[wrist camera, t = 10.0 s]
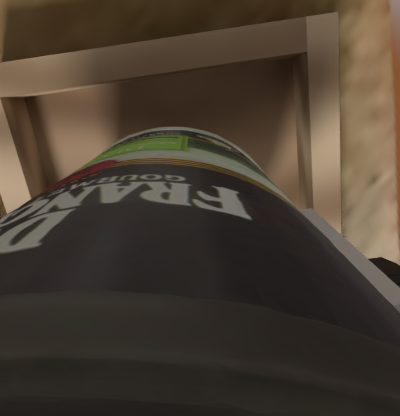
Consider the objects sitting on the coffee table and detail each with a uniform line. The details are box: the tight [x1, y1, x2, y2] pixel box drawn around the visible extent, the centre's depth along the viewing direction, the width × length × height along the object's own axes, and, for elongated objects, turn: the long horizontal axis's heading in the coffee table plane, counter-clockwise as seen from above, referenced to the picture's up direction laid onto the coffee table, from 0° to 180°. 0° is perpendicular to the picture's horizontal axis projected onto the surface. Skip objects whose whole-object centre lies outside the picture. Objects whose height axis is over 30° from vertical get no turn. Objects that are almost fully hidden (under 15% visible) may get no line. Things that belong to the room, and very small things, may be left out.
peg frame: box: [0, 12, 341, 234], centre depth 20 cm, size 18×18×4 cm
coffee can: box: [0, 127, 400, 416], centre depth 10 cm, size 10×10×14 cm
